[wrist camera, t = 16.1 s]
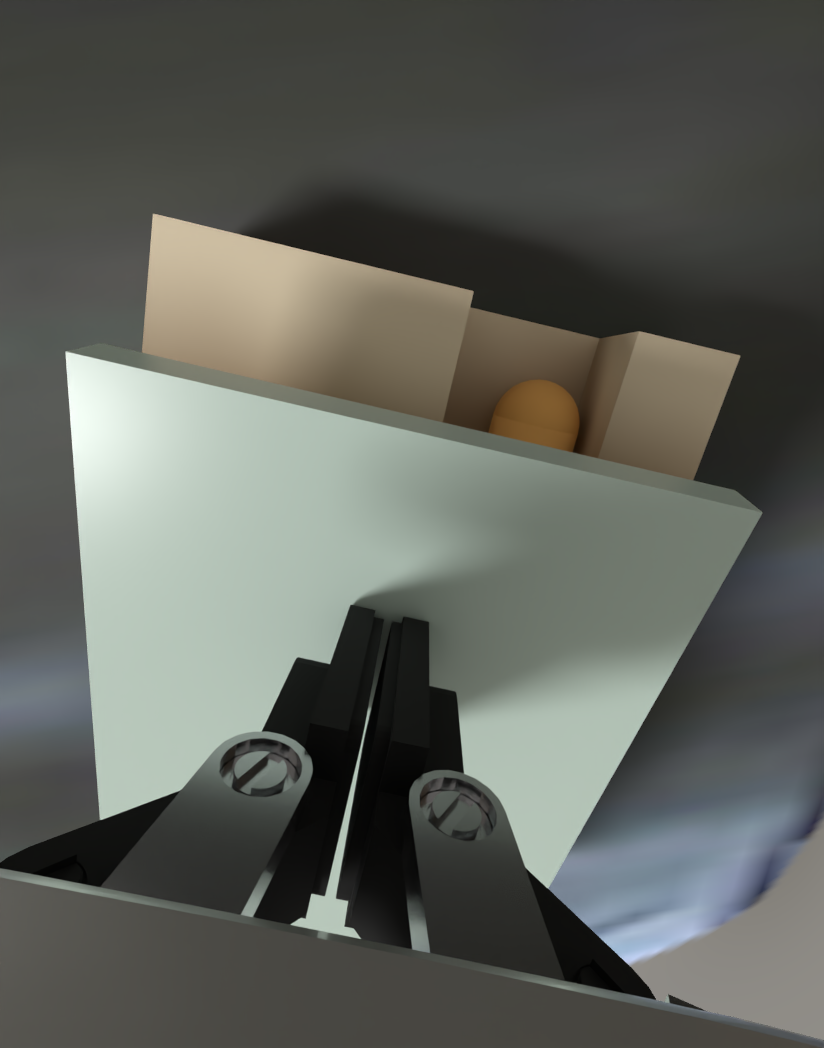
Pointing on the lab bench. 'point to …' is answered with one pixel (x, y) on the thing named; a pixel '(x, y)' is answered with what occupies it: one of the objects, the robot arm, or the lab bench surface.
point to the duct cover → (373, 581)
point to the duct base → (419, 346)
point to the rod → (537, 415)
